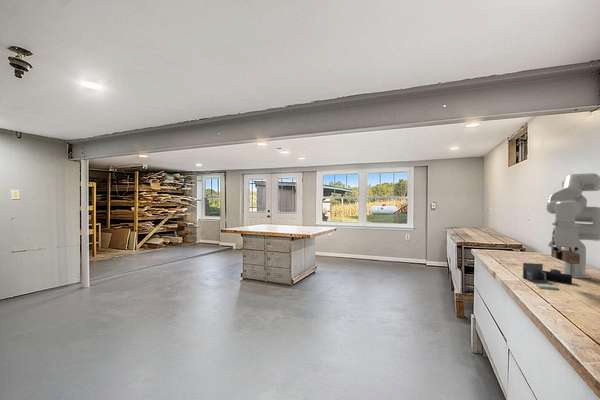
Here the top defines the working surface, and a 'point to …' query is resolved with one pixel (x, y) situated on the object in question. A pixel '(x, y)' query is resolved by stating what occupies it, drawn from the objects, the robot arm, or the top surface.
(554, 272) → the pipe connector
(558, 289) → the pad
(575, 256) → the walnut rail
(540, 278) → the grey metal bracket
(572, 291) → the top surface
